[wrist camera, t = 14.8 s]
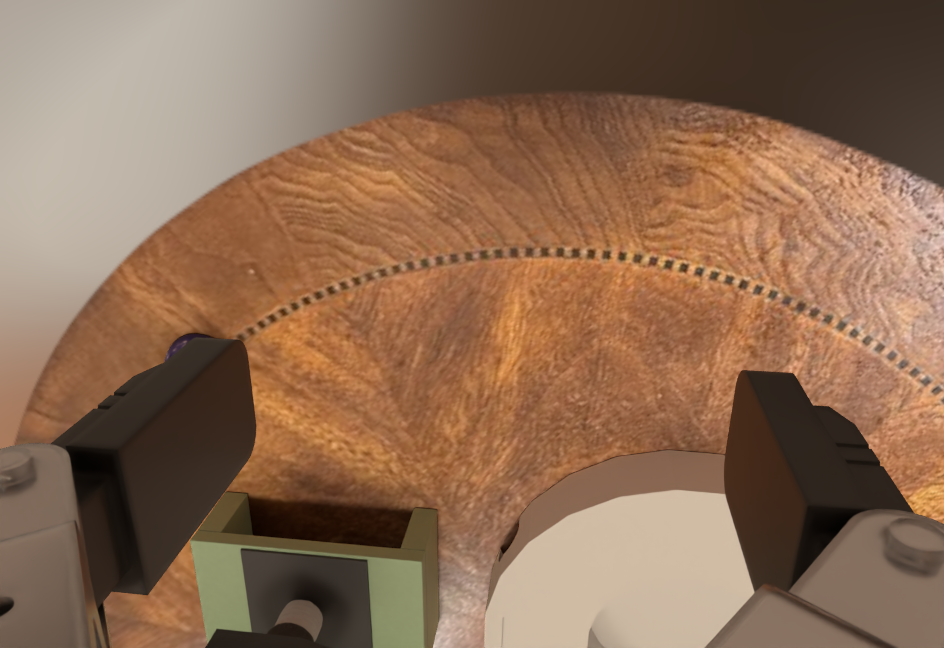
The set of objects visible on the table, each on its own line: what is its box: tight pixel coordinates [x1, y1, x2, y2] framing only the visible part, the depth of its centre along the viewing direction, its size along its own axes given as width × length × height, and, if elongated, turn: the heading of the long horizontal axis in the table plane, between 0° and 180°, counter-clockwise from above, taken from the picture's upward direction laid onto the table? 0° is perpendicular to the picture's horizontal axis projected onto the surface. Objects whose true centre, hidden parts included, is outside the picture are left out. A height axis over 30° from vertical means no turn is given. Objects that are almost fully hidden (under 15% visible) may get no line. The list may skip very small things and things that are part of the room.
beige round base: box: [484, 450, 754, 648], centre depth 46 cm, size 23×23×4 cm
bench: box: [190, 492, 439, 648], centre depth 46 cm, size 14×9×8 cm, turn 90°
